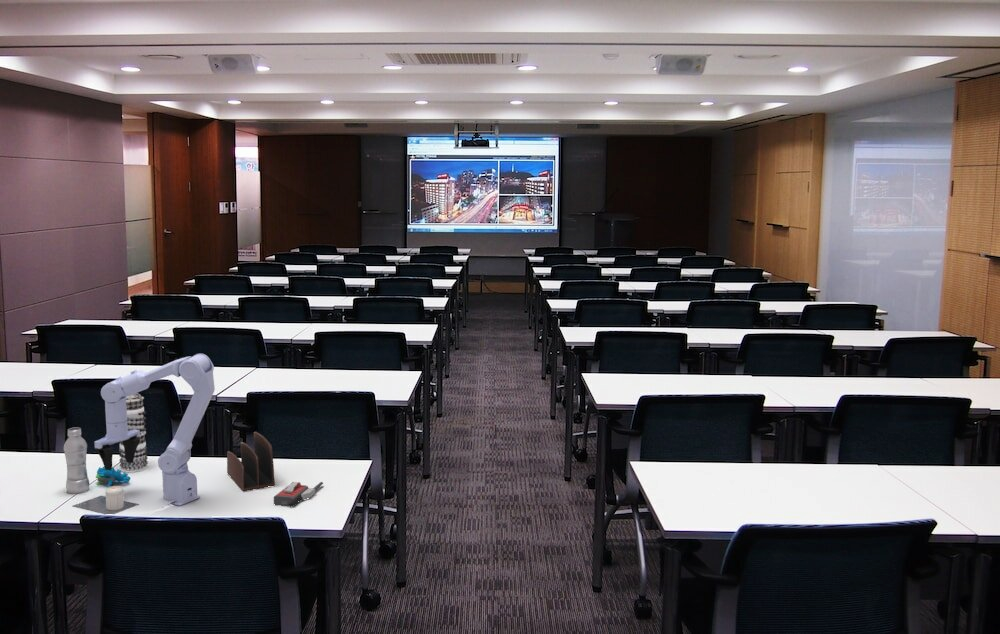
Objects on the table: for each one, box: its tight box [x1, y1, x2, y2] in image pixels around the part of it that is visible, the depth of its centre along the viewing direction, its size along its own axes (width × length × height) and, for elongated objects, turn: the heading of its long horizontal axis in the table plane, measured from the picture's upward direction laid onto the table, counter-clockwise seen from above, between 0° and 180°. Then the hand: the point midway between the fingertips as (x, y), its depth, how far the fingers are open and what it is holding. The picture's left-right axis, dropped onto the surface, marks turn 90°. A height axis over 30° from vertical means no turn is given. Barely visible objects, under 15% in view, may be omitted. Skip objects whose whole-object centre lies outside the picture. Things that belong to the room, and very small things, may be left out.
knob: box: [105, 485, 125, 510], centre depth 251 cm, size 4×4×6 cm
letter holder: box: [226, 431, 276, 492], centre depth 278 cm, size 10×20×14 cm, turn 31°
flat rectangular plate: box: [71, 495, 140, 515], centre depth 253 cm, size 16×10×4 cm, turn 63°
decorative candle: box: [118, 392, 149, 473], centre depth 288 cm, size 9×9×25 cm
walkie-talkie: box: [273, 481, 324, 507], centre depth 264 cm, size 9×4×20 cm
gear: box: [95, 466, 131, 488], centre depth 270 cm, size 11×6×10 cm
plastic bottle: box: [63, 427, 91, 495], centre depth 264 cm, size 6×7×20 cm
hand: (119, 466), depth 260 cm, fingers open, 7 cm apart
